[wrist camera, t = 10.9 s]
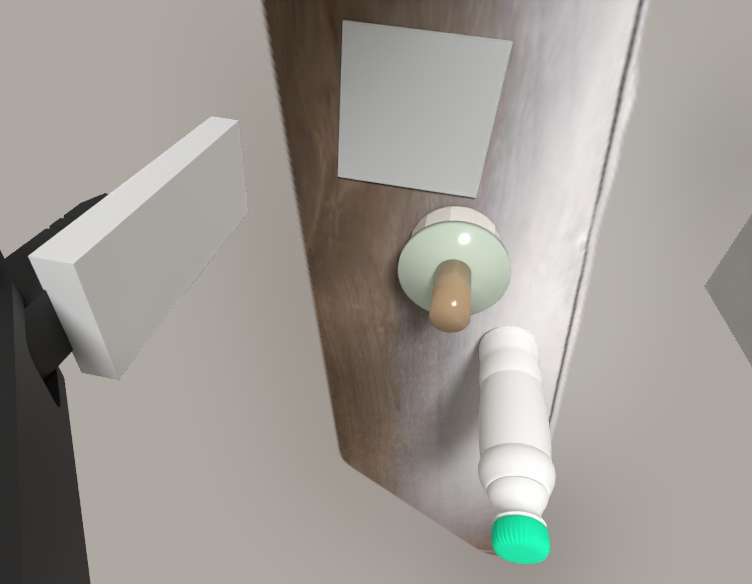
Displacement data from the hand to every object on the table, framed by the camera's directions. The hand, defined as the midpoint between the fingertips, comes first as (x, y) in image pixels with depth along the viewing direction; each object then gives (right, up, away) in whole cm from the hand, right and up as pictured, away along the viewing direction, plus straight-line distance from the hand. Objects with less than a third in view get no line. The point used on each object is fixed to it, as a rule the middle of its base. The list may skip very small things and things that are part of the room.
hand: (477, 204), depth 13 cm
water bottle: (+14, -9, +47) cm, 49 cm away
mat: (+1, +14, +31) cm, 34 cm away
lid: (+5, 0, +36) cm, 36 cm away
